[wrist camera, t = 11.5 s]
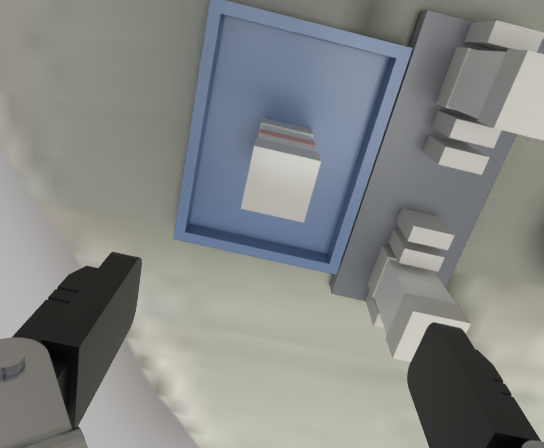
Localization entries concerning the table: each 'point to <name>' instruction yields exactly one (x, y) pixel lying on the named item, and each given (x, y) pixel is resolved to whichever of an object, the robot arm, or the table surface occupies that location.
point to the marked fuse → (282, 171)
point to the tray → (289, 109)
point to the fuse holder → (429, 161)
